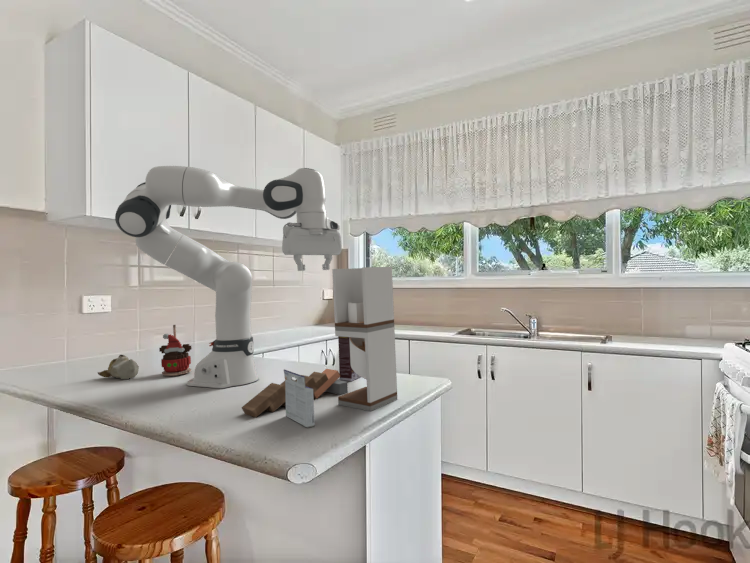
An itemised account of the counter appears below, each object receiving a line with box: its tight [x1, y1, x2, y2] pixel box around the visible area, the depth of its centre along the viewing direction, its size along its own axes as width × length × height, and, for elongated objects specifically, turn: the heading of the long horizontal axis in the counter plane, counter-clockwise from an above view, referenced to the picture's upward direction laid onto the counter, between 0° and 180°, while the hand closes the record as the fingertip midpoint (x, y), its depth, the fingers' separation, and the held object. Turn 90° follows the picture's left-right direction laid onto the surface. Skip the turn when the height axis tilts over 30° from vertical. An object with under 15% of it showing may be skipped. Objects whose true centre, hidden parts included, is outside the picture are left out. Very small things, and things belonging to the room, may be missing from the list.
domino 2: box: [264, 380, 286, 413], centre depth 114 cm, size 2×5×10 cm
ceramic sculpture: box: [97, 354, 140, 380], centre depth 158 cm, size 11×9×15 cm
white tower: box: [331, 266, 398, 412], centre depth 115 cm, size 11×11×35 cm
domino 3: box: [281, 374, 315, 407], centre depth 118 cm, size 2×5×10 cm
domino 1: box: [241, 382, 286, 418], centre depth 111 cm, size 2×5×10 cm
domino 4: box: [309, 371, 328, 394], centre depth 121 cm, size 2×5×10 cm
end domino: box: [313, 368, 340, 400], centre depth 125 cm, size 2×5×10 cm
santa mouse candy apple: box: [158, 324, 193, 377], centre depth 160 cm, size 11×9×18 cm
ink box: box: [283, 368, 315, 429], centre depth 102 cm, size 12×2×12 cm, turn 35°
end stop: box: [324, 379, 349, 396], centre depth 127 cm, size 3×10×3 cm, turn 47°
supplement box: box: [337, 336, 362, 382], centre depth 142 cm, size 9×5×16 cm, turn 151°
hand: (314, 270), depth 131 cm, fingers open, 8 cm apart
